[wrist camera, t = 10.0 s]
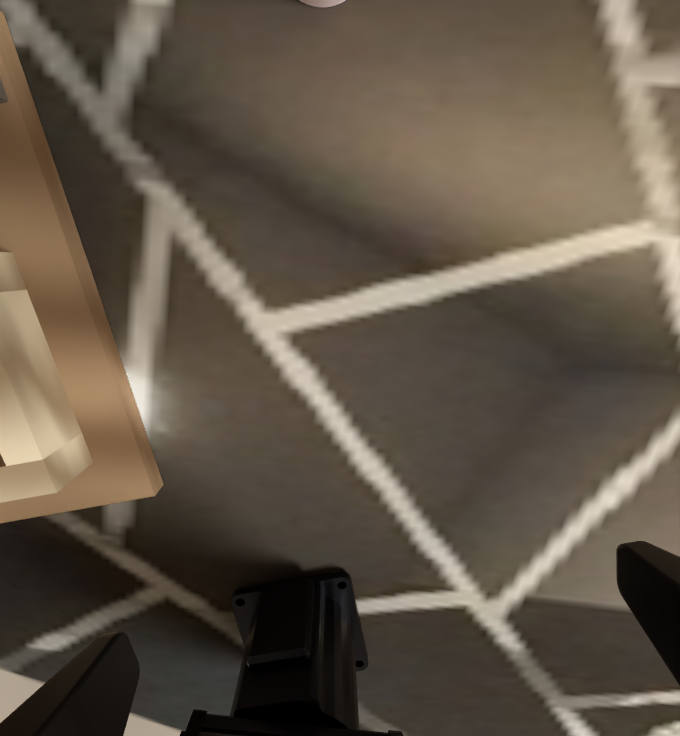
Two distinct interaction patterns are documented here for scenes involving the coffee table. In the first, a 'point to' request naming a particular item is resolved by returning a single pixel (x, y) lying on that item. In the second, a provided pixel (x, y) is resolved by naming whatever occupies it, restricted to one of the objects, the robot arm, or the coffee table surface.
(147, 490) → the socket board
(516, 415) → the coffee table surface
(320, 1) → the smoothie
